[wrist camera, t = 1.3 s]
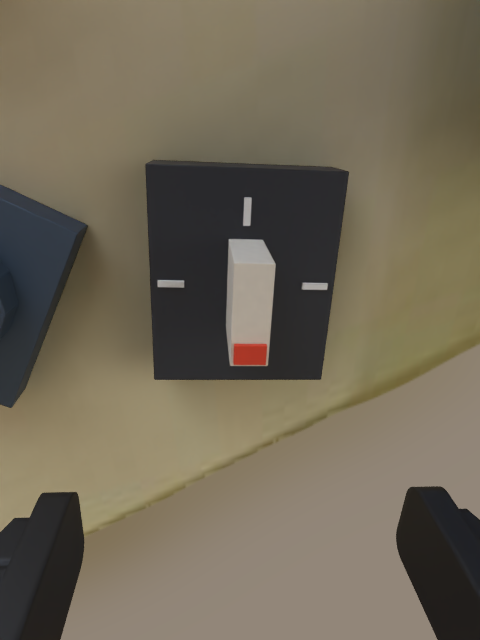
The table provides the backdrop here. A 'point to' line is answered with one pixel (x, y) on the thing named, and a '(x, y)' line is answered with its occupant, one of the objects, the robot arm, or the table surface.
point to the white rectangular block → (249, 302)
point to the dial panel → (212, 262)
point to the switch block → (30, 282)
